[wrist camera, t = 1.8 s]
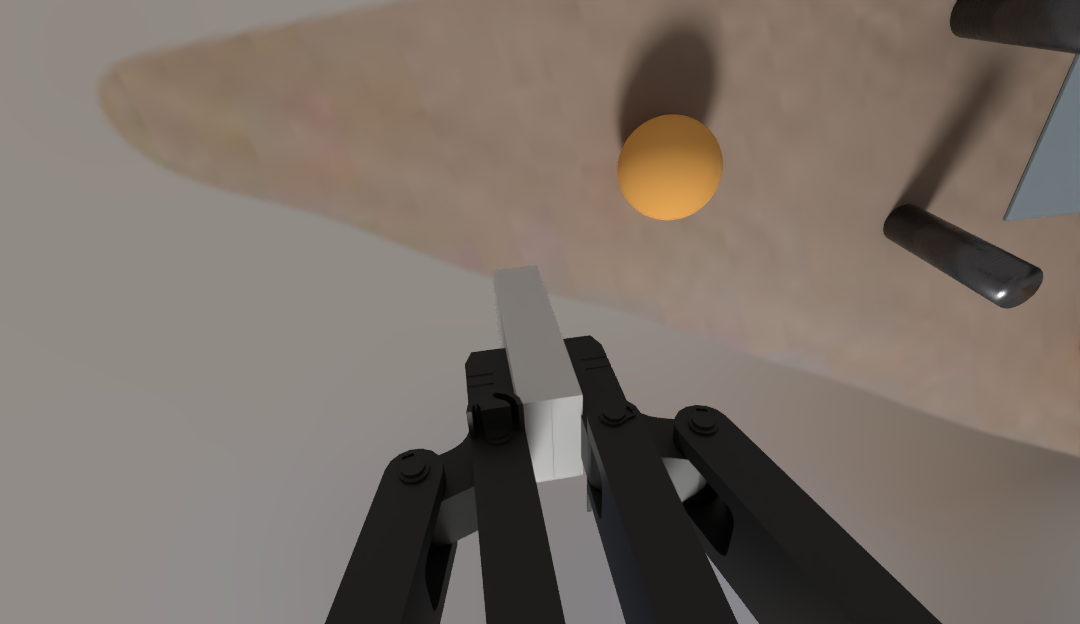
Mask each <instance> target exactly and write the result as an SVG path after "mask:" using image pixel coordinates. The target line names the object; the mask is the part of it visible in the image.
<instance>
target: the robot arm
mask: <svg viewBox="0 0 1080 624" xmlns="http://www.w3.org/2000/svg"><path fill="white" fill-rule="evenodd" d="M492 275H493V285H494V293H495V304H496V314H497V324H498V333H499V341H500V346H501V349H494V350H486V351H479V352H471V354H470V356H469V358H468V360H467V362H466V363H465V369H466V380H467V393H468V406H467V412H466V414H467V420H468V426H469V433H468V435H467V437H466V438H465V439H464V441H463V442H462V443H461V444H460V445H458V446H457V447H455V448H453V449H452V450H450V451H448V452H445V453H443V454H441V455H437V454H436V453H434V452H433V451H431V450H425V449H414V450H409V451H407V452H404V453H402V454H399V455H398V456H397V457H396V458H394V459H393V460H392V461H390V463H389V465H388V466H387V468H386V469H385V471H384V474H383V476H382V479H381V482H380V484H379V487H378V489H377V492H376V494H375V497H374V499H373V502H372V504H371V507H370V510H369V512H368V515H367V517H366V520H365V522H364V525H363V527H362V530H361V533H360V535H359V538H358V541H357V543H356V546H355V548H354V550H353V553H352V556H351V558H350V561H349V563H348V566H347V569H346V571H345V574H344V576H343V579H342V581H341V584H340V587H339V589H338V591H337V594H336V597H335V599H334V602H333V604H332V607H331V609H330V612H329V615H328V617H327V620H326V622H325V624H440V621H441V617H442V612H443V608H444V603H445V598H446V594H447V589H448V585H449V580H450V576H451V571H452V567H453V562H454V557H455V553H456V548H457V540H459V539H461V538H463V537H465V536H467V535H469V534H471V533H473V532H475V531H477V530H478V531H479V544H480V555H481V567H482V577H483V589H484V600H485V612H486V624H565V620H564V614H563V610H562V605H561V600H560V595H559V590H558V585H557V581H556V576H555V571H554V567H553V561H552V557H551V552H550V547H549V542H548V537H547V532H546V527H545V523H544V518H543V513H542V508H541V504H540V499H539V495H538V489H537V484H536V483H537V482H543V481H549V480H555V479H561V478H567V477H573V476H579V475H583V465H584V468H585V472H586V475H587V512H590V511H592V510H593V513H594V517H595V520H596V523H597V527H598V530H599V534H600V537H601V540H602V544H603V547H604V551H605V554H606V557H607V561H608V564H609V567H610V571H611V575H612V578H613V581H614V585H615V588H616V592H617V595H618V598H619V602H620V605H621V609H622V612H623V616H624V619H625V622H626V624H738V623H737V620H736V618H735V616H734V614H733V612H732V610H731V607H730V605H729V603H728V601H727V599H726V597H725V594H724V592H723V590H722V588H721V586H720V584H719V582H718V579H717V577H716V575H715V573H714V571H713V569H712V566H711V564H710V562H709V560H708V558H707V556H708V557H709V558H710V559H711V561H712V562H713V563H714V565H715V566H716V567H717V569H718V570H719V571H720V573H721V574H722V575H723V577H724V578H725V579H726V581H727V582H728V583H729V584H730V586H731V587H732V588H733V590H734V591H735V592H736V594H737V595H738V596H739V598H740V599H741V600H742V602H743V603H744V604H745V605H746V607H747V608H748V609H749V611H750V612H751V613H752V615H753V616H754V617H755V619H756V620H757V621H758V622H759V624H942V623H941V622H940V621H939V620H938V619H937V618H936V617H934V616H933V615H932V614H931V613H930V612H929V611H928V610H927V609H926V608H925V607H924V606H923V605H922V604H921V603H920V602H919V601H918V600H917V599H916V598H915V597H914V596H913V595H912V594H911V593H910V592H909V591H907V590H906V589H905V588H904V587H903V586H902V585H901V584H900V583H899V582H898V581H897V580H896V579H895V578H894V577H893V576H892V575H891V574H890V573H889V572H888V571H887V570H886V569H885V568H884V567H882V566H881V565H880V564H879V563H878V562H877V561H876V560H875V559H874V558H873V557H872V556H871V555H870V554H869V553H868V552H867V551H866V550H865V549H864V548H863V547H862V546H861V545H859V544H858V543H857V542H856V541H855V540H854V539H853V538H852V537H851V536H850V535H849V534H848V533H847V532H846V531H845V530H844V529H843V528H842V527H841V526H840V525H839V524H838V523H837V522H836V521H835V520H834V519H832V518H831V517H830V516H829V515H828V514H827V513H826V512H825V511H824V510H823V509H822V508H821V507H820V506H819V505H818V504H817V503H816V502H815V501H814V500H813V499H812V498H811V497H810V496H809V495H808V494H806V492H804V491H803V490H802V489H801V488H800V487H799V486H798V485H797V484H796V483H795V482H794V481H793V480H792V479H791V478H790V477H789V476H788V475H787V474H786V473H785V472H784V471H783V470H781V468H779V467H778V466H777V465H776V464H775V463H774V462H773V461H772V460H771V459H770V458H769V457H768V456H767V455H766V454H765V453H764V452H763V451H762V450H761V449H760V448H759V447H758V446H757V445H756V444H755V443H753V442H752V441H751V440H750V439H749V438H748V437H747V436H746V435H745V434H744V433H743V432H742V431H741V430H740V429H739V428H738V427H737V426H736V425H735V424H734V423H733V422H732V421H731V420H729V419H728V418H727V417H726V416H725V415H724V414H722V413H721V412H719V411H718V410H716V409H714V408H711V407H708V406H700V405H694V406H689V407H685V408H684V409H682V410H680V411H679V412H678V413H677V415H676V417H675V419H666V418H657V417H651V416H647V415H645V414H642V413H640V411H639V410H638V409H637V408H636V406H635V405H633V404H631V403H630V402H628V401H627V400H626V398H625V396H624V394H623V391H622V389H621V387H620V385H619V382H618V380H617V378H616V376H615V373H614V371H613V369H612V367H611V364H610V362H609V360H608V358H607V356H606V353H605V351H604V349H603V347H602V345H601V344H600V343H599V342H598V341H596V340H595V339H594V338H593V337H592V336H590V335H589V336H582V337H574V338H567V339H563V338H562V335H561V332H560V329H559V326H558V324H557V321H556V318H555V315H554V312H553V309H552V307H551V304H550V301H549V298H548V295H547V292H546V290H545V287H544V284H543V281H542V278H541V275H540V273H539V270H538V267H537V266H529V267H521V268H512V269H504V270H495V271H492ZM591 509H592V510H591ZM706 554H707V556H706Z"/></svg>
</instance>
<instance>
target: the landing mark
mask: <svg viewBox="0 0 1080 624" xmlns="http://www.w3.org/2000/svg"><path fill="white" fill-rule="evenodd" d="M1072 213H1080V54H1076V57H1075V59H1074V61H1073V63H1072V66H1071V68H1070V70H1069V73H1068V75H1067V77H1066V79H1065V82H1064V84H1063V86H1062V88H1061V91H1060V93H1059V95H1058V97H1057V100H1056V102H1055V104H1054V106H1053V109H1052V111H1051V113H1050V115H1049V118H1048V120H1047V122H1046V125H1045V127H1044V129H1043V131H1042V134H1041V136H1040V138H1039V140H1038V143H1037V145H1036V147H1035V149H1034V152H1033V154H1032V156H1031V158H1030V161H1029V163H1028V165H1027V167H1026V170H1025V172H1024V174H1023V177H1022V179H1021V181H1020V183H1019V186H1018V188H1017V190H1016V192H1015V195H1014V197H1013V199H1012V201H1011V204H1010V206H1009V208H1008V210H1007V213H1006V215H1005V217H1004V219H1003V220H1004V221H1011V220H1020V219H1029V218H1037V217H1046V216H1055V215H1064V214H1072Z"/></svg>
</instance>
